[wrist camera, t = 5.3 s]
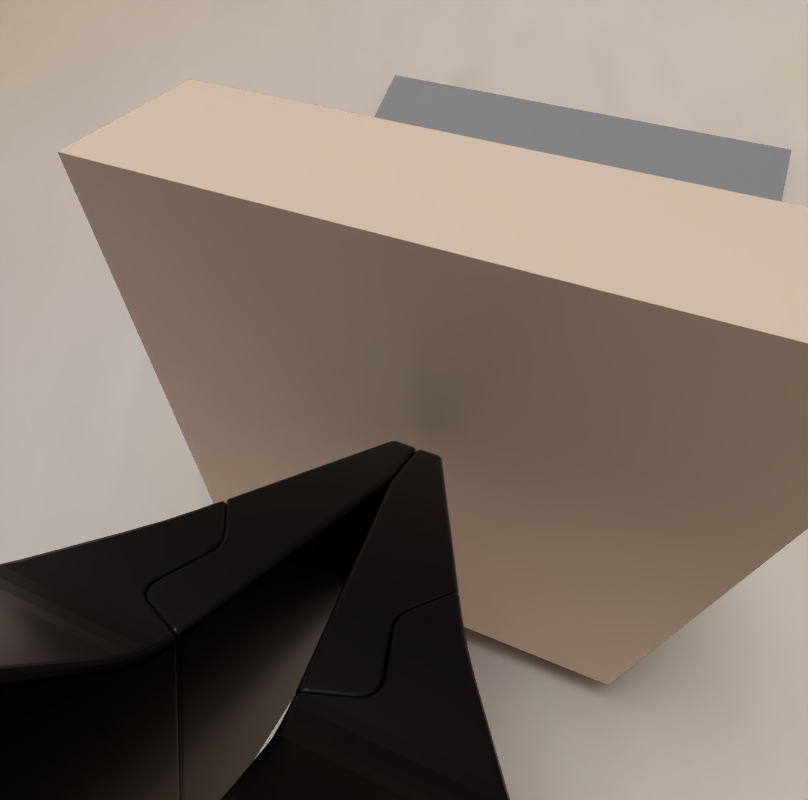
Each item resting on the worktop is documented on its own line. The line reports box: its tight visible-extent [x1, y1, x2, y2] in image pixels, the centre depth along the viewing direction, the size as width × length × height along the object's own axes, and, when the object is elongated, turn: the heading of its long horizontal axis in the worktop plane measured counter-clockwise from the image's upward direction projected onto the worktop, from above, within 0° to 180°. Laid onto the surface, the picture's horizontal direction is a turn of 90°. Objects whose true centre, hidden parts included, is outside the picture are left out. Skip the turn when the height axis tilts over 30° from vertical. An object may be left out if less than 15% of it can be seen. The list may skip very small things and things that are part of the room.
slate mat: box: [375, 75, 791, 201], centre depth 19 cm, size 15×15×1 cm
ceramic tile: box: [58, 79, 808, 685], centre depth 11 cm, size 3×11×11 cm, turn 69°
